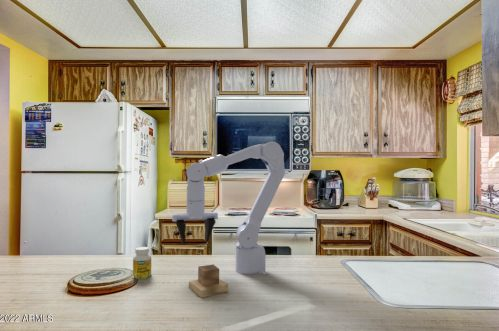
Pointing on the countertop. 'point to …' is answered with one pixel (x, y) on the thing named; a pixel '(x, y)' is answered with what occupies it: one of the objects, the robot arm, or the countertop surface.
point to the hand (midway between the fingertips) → (195, 242)
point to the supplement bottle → (142, 263)
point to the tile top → (208, 288)
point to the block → (208, 275)
